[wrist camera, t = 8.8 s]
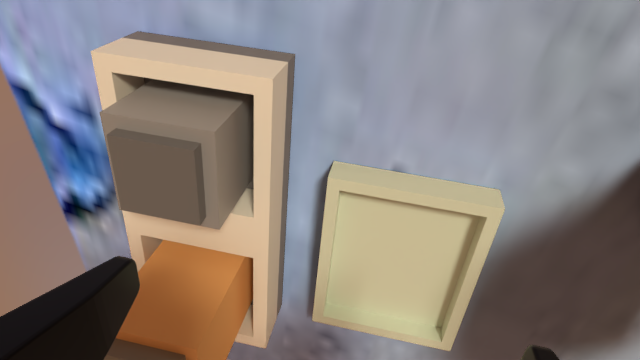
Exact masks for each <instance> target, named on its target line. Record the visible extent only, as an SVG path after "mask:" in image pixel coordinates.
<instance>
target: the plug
mask: <svg viewBox="0 0 640 360" xmlns="http://www.w3.org/2000/svg"><path fill="white" fill-rule="evenodd" d="M138 276H139V281H140V288H139V292H138V295H137V297H136V299H135V301H134V303H133V305H132V307H131V309H130V310H129V312H128V314H127V316H126V318H125V320H124V322H123V324H122V326H121V328H120V330H119V332H118V334H117V336H116V338H115V340H114V342H113V344H112V346H111V348H110V350H109V352H108V353H107V355H106V357H105V358H104V360H226V359H227V356H228V354H229V352H230V350H231V347H232V345H233V343H234V341H235V338H236V336H237V334H238V331H239V329H240V327H241V325H242V322H243V320H244V318H245V316H246V313H247V311H248V309H249V306H250V304H251V302H252V300H253V258H250V257H245V256H240V255H235V254H231V253H226V252H221V251H216V250H211V249H207V248H202V247H197V246H192V245H187V244H182V243H178V242H173V241H168V240H163V241H162V242H161V244H160V245H159V246H158V248H157V249H156V250H155V251H154V253H153V254H152V255H151V256H150V258H149V259H148V260H147V261H146V263H145V264H144V265H143V267H142V268H141V269H140V270H139V272H138Z"/></svg>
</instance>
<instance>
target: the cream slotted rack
mask: <svg viewBox="0 0 640 360" xmlns="http://www.w3.org/2000/svg"><path fill="white" fill-rule="evenodd" d="M91 54H92V59H93V65H94V70H95V75H96V80H97V85H98V90H99V95H100V100H101V105H102V110H103V111H101V112H100V116H101V121H102V126H103V131H104V136H105V141H106V146H107V151H108V156H109V160H110V165H111V170H112V175H113V180H114V185H115V190H116V195H117V200H118V205H119V210H122V211H123V216H124V221H125V226H126V231H127V236H128V241H129V246H130V251H131V256H132V259H133V260H134V261H135V262H136V265H137V271H138V272H139V270H140V269H141V268H142V267H143V265H144V264H145V263H146V261H147V260H148V259H149V258H150V256H151V255H152V254H153V253H154V251H155V250H156V249H157V248H158V246H159V245H160V244H161V242H162V241H163V240H168V241H173V242H178V243H182V244H187V245H192V246H197V247H202V248H207V249H211V250H216V251H221V252H226V253H231V254H235V255H240V256H245V257H250V258H253V300H252V302H251V304H250V306H249V309H248V311H247V313H246V316H245V318H244V320H243V322H242V325H241V327H240V329H239V331H238V334H237V336H236V338H235V342H240V343H244V344H248V345H253V346H257V347H261V348H265V349H266V346H267V344H268V341H269V338H270V335H271V333H272V330H273V327H274V324H275V322H276V319H277V316H278V313H279V310H280V308H281V305H282V292H283V273H284V255H285V236H286V217H287V198H288V180H289V161H290V142H291V123H292V105H293V86H294V67H295V54H290V53H283V52H277V51H270V50H263V49H256V48H249V47H242V46H235V45H228V44H221V43H215V42H208V41H201V40H194V39H187V38H180V37H173V36H166V35H159V34H152V33H146V32H139V31H137V32H135V33H133V34H130V35H128V36H125V37H123V38H121V39H118V40H116V41H114V42H111V43H109V44H106V45H104V46H102V47H99V48H97V49H95V50H92V51H91Z"/></svg>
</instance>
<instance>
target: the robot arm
mask: <svg viewBox="0 0 640 360" xmlns="http://www.w3.org/2000/svg"><path fill="white" fill-rule="evenodd" d="M139 288H140V281H139V276H138V271H137V265H136V262H135V261H134V260H133V259H130V258H126V257H121V256H117V257H114V258H112V259H110V260H108V261H106V262H104V263H103V264H101V265H99V266H97V267H95V268H93V269H91V270H89V271H87V272H85V273H83V274H82V275H80V276H78V277H76V278H74V279H72V280H70V281H68V282H66V283H64V284H62V285H60V286H58V287H56V288H55V289H53V290H51V291H49V292H47V293H45V294H43V295H41V296H39V297H37V298H35V299H33V300H31V301H30V302H28V303H26V304H24V305H22V306H20V307H18V308H16V309H14V310H12V311H10V312H8V313H7V314H5V315H3V316H1V317H0V360H104V358H105V357H106V355H107V353H108V352H109V350H110V348H111V346H112V344H113V342H114V340H115V338H116V336H117V334H118V332H119V330H120V328H121V326H122V324H123V322H124V320H125V318H126V316H127V314H128V312H129V310H130V309H131V307H132V305H133V303H134V301H135V299H136V297H137V295H138V292H139ZM521 360H559V358H558V357H557V356H556V355H555V353H554V352H553V351H552V350H550V349H548V348H545V347H540V346H535V345H530V346H529V347H528V348H527V349H526V351H525V353H524V355H523V357H522V358H521Z"/></svg>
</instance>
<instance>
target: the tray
mask: <svg viewBox="0 0 640 360" xmlns="http://www.w3.org/2000/svg"><path fill="white" fill-rule="evenodd" d="M504 210H505V207H504V203H503V200H502V196H501V192H500V190H498V189H492V188H487V187H481V186H475V185H469V184H464V183H458V182H452V181H446V180H441V179H435V178H429V177H423V176H418V175H412V174H406V173H400V172H395V171H389V170H383V169H377V168H372V167H366V166H360V165H355V164H349V163H343V162H337V161H334V162H333V165H332V168H331V170H330V173H329V176H328V182H327V191H326V200H325V209H324V218H323V227H322V236H321V245H320V254H319V263H318V272H317V281H316V290H315V299H314V308H313V317H312V321H315V322H320V323H324V324H329V325H333V326H338V327H342V328H347V329H351V330H356V331H361V332H365V333H370V334H374V335H379V336H383V337H388V338H392V339H397V340H401V341H406V342H410V343H415V344H419V345H424V346H428V347H433V348H437V349H442V350H446V351H450V350H451V348H452V345H453V342H454V340H455V337H456V335H457V332H458V330H459V327H460V324H461V322H462V319H463V317H464V314H465V311H466V309H467V306H468V304H469V301H470V298H471V296H472V293H473V291H474V288H475V286H476V283H477V280H478V278H479V275H480V273H481V270H482V267H483V265H484V262H485V260H486V257H487V254H488V252H489V249H490V247H491V244H492V242H493V239H494V236H495V234H496V231H497V229H498V226H499V223H500V221H501V218H502V216H503V213H504Z"/></svg>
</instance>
